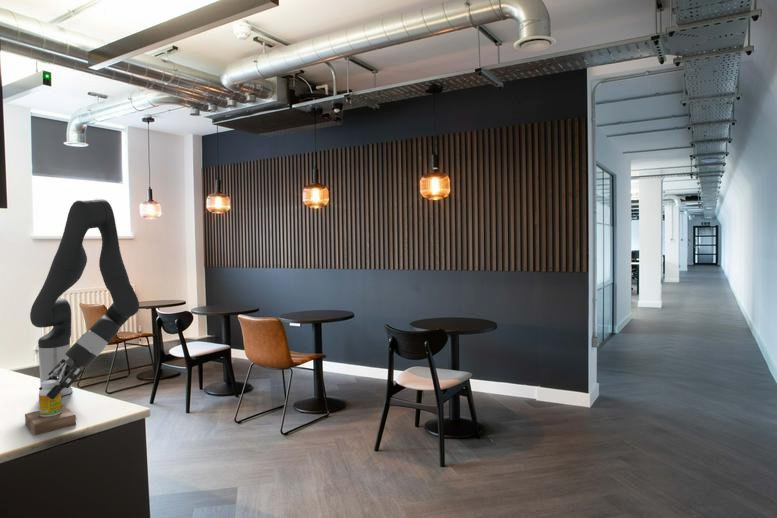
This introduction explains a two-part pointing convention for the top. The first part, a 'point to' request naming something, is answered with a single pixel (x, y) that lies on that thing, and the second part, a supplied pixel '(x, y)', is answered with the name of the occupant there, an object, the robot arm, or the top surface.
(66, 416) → the walnut riser
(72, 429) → the top surface
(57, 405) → the supplement bottle
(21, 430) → the top surface
